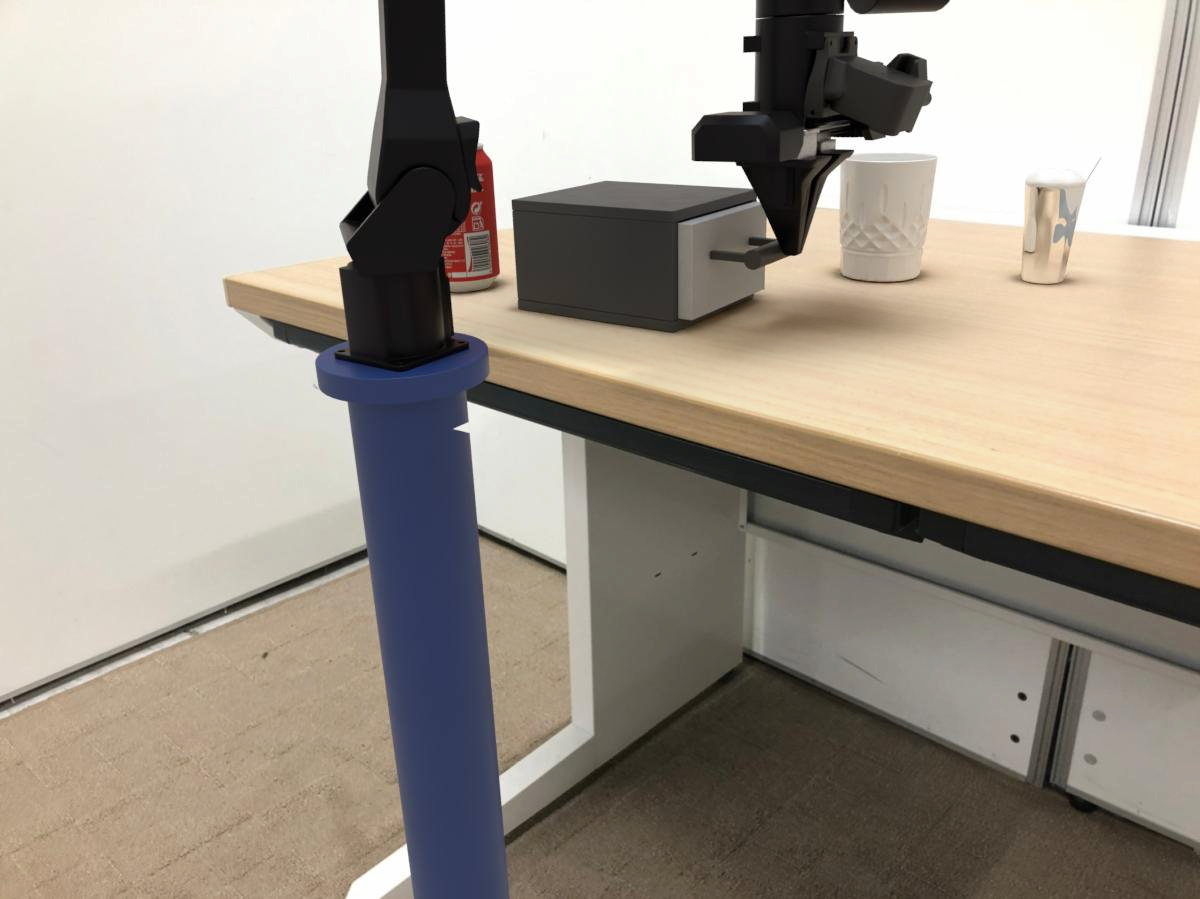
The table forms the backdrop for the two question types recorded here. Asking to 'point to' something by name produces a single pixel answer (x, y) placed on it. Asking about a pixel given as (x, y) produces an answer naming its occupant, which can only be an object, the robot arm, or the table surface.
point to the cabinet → (610, 250)
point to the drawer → (722, 258)
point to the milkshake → (1050, 222)
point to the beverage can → (475, 237)
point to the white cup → (884, 214)
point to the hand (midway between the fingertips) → (792, 254)
